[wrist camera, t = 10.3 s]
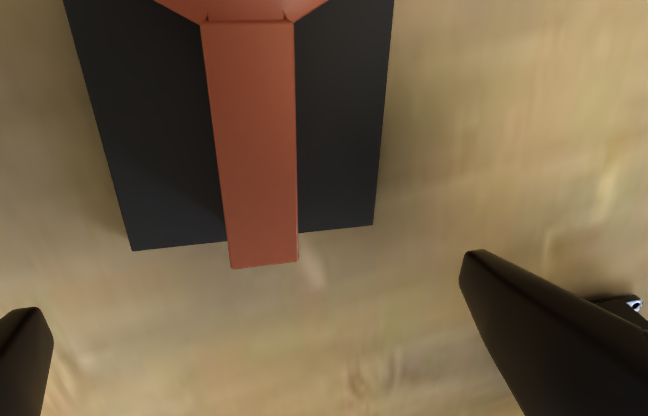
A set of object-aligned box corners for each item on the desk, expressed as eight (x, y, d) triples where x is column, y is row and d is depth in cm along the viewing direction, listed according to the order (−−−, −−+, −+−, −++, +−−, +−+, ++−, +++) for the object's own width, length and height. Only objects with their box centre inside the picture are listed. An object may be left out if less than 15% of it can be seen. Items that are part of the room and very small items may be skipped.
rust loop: (353, 213, 18) (373, 253, 16) (156, 234, 17) (146, 281, 14) (388, -365, 10) (442, -460, 7) (0, -429, 8) (-84, -572, 6)
